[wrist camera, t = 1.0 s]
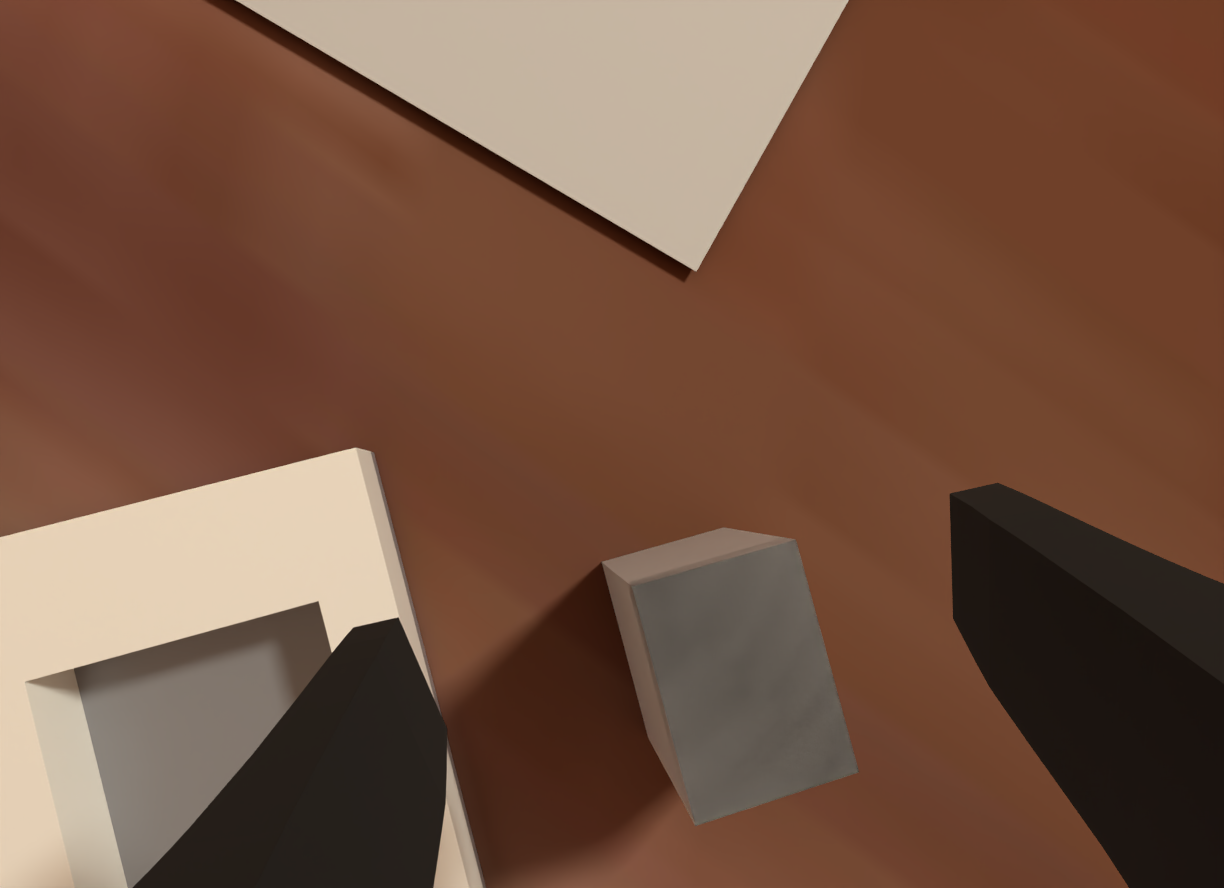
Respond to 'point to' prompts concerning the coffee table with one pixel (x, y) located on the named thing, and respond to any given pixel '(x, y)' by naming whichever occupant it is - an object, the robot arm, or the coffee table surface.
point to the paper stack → (593, 90)
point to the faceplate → (182, 660)
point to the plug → (730, 669)
